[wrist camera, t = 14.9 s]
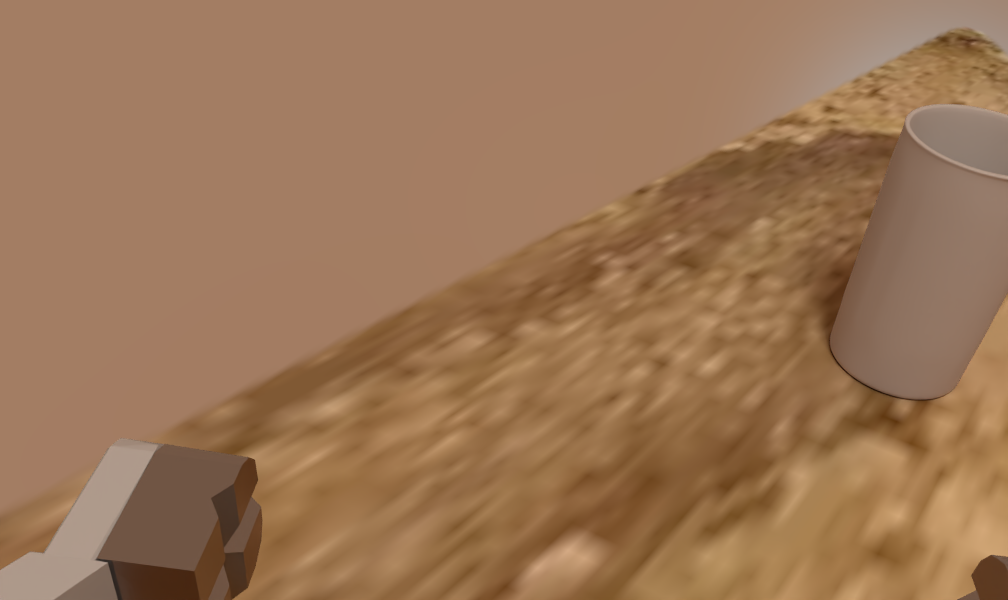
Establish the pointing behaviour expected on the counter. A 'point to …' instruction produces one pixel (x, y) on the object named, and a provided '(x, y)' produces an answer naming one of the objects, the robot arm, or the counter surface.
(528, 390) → the counter surface
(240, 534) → the robot arm
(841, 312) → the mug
